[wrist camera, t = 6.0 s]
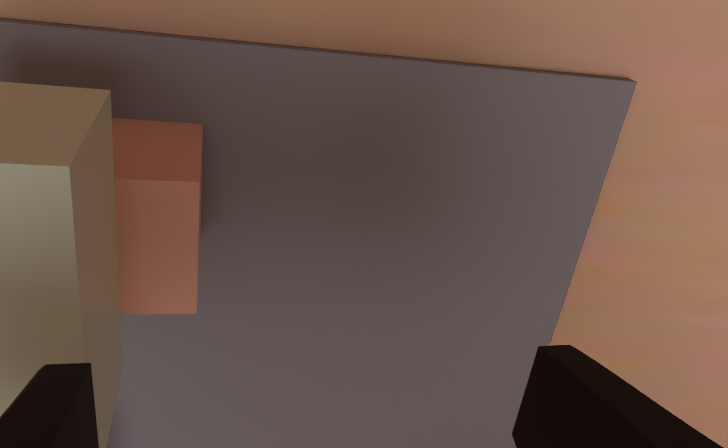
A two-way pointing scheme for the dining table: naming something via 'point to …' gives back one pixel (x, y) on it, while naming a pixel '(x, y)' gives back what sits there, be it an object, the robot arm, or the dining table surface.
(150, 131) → the terracotta brick
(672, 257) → the dining table surface
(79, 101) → the beige brick
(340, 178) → the mat
